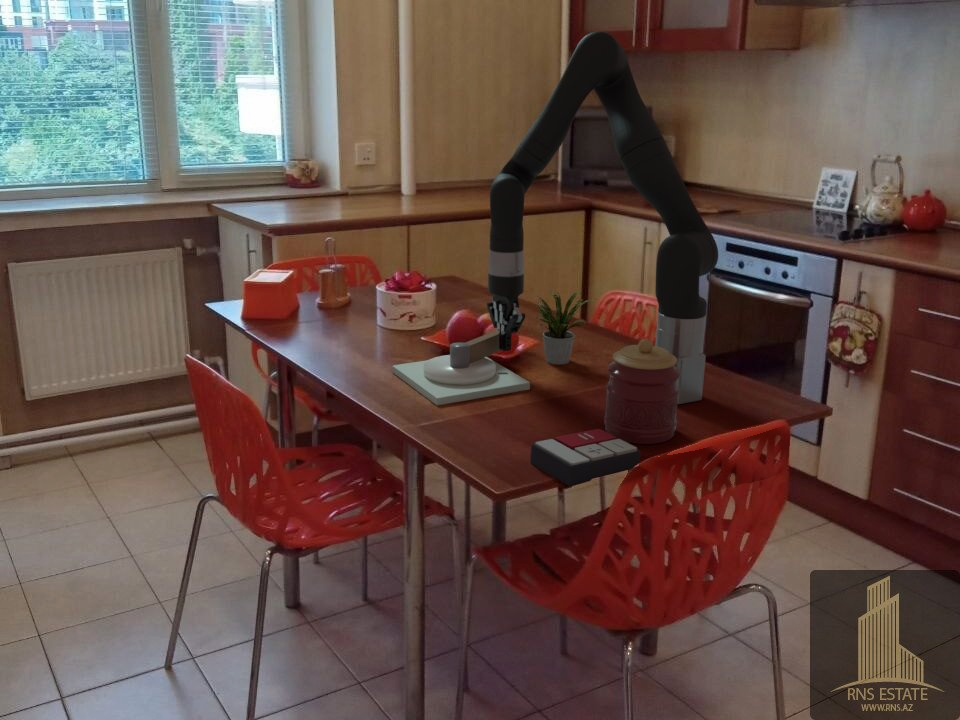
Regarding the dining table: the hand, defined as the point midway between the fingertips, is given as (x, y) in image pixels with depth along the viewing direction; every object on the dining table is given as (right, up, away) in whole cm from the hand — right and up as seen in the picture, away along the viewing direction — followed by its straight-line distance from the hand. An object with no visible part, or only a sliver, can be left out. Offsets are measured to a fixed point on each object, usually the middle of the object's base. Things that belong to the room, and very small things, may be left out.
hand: (505, 349), depth 203 cm
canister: (+24, -15, -31) cm, 42 cm away
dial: (-7, -4, -3) cm, 9 cm away
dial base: (-10, -6, -6) cm, 13 cm away
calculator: (+12, -20, -45) cm, 51 cm away
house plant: (+13, -2, +8) cm, 16 cm away
